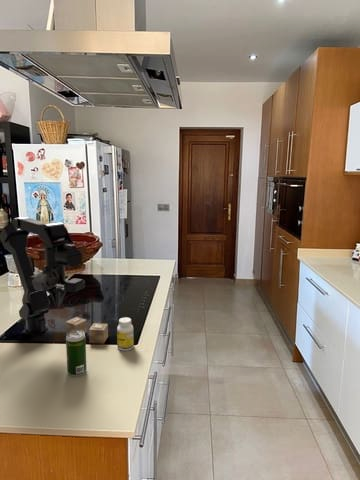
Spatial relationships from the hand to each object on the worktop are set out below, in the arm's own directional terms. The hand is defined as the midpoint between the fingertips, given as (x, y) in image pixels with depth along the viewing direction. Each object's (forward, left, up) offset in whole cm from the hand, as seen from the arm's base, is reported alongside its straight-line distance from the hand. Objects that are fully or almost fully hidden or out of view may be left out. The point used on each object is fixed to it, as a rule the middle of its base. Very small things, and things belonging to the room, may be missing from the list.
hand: (57, 307), depth 113 cm
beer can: (+16, -12, -13) cm, 24 cm away
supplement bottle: (+22, +6, -13) cm, 26 cm away
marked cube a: (+11, +7, -13) cm, 18 cm away
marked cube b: (+1, +8, -13) cm, 15 cm away
